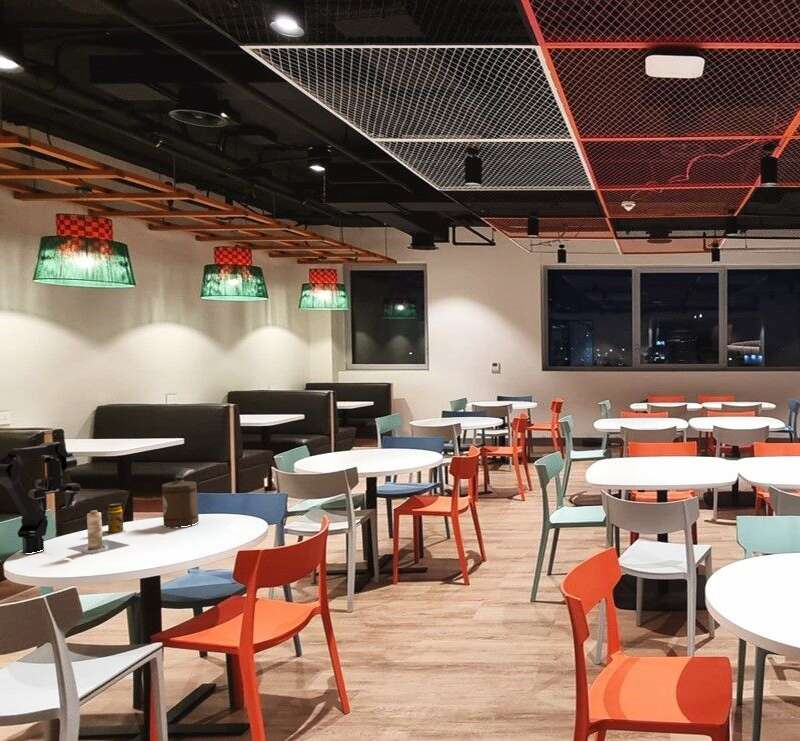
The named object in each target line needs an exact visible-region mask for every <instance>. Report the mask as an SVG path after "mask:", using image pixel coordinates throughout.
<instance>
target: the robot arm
mask: <svg viewBox="0 0 800 741" xmlns="http://www.w3.org/2000/svg"><path fill="white" fill-rule="evenodd" d="M33 457H44V459H43V460H42V461H41V464H45V474H46V475H45V476H44V480H43V479H42V478H41V479H36V480H35V482H34V483H35V484H34V485H35V488H34V489H30V490H29V491H28V493H27V492H26V491H25V489H24V487H23V486H22V483H21V481H20V480H21V479H20V478H21V470H22V469H23V468H22V467H23V464H24V463H23V462H24V459H28V458H33ZM14 460H15V462H14V463H13V461H14ZM77 466H78V461H77V458H76V457H75V456H74V455H73V453H72V452H68V451H67V449H66V448H65V447H64V445H63V443H62V442H60V441H46V442H43V443H40V444H39V445H37V446H36V445H35V446H28V447H21V448H20V447H19V448H12V449H10V450H9V451H8V452H7V453H6V455H4V456H3V457H2V458H0V485H1V486H3V487H4V488H5V489H6V490H7V492H8V493H9V495H10V497H11V500H13V502H14V504H15V506H16V508H17V509H18V511H19V513H20V514H21V521H20V523H21V526H20V528H19V529H18V531H17V536H18V538H21V540H22V544H21V545H22V550H21V551H20V554H23V553H32V552H37V551H40V550H43V551H44V550H45V542H44V538H43V537H44V536H46V535H47V530H48V525H49V524H48V523H49V521H48V516H47V515H46V512H47V498H46V497H45V495H50V494H55V493H61V492H62V493H63V494H64V496H65V497H64V498H65V506H64V507H65V510H67V511H68V510H69V509H70V506H71V504H72V501H73V499H74V498H75V495H76V494H78V493H79V492H80V491H81V485H80V484H79V483H75V482H72V483H71V482H70V483H66V484H64V485H63V478H64V477H65V476H64V475H63V472H66V471H70V470H74V469H75V468H77ZM30 498H31V499H33V500H35V501H36V502H37V503H38V505H39V507H40V509H36V508H35V506H34V505H33V503H32V501H31V500H30ZM44 552H45V551H44Z"/></svg>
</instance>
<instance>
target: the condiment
mask: <svg viewBox="0 0 800 741" xmlns="http://www.w3.org/2000/svg"><path fill="white" fill-rule="evenodd" d="M107 506H108V508H107V509H108V510H107V528H108V530H102V535H105V536H107V535H115V534H121V533H126V532H127V531H126V530H124V518H123V517H124V515H123V514H124V512H123V509H122V503H121V502H115V503H109V504H108V505H107Z"/></svg>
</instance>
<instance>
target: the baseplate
mask: <svg viewBox="0 0 800 741" xmlns="http://www.w3.org/2000/svg"><path fill="white" fill-rule="evenodd" d="M102 543H103V549H99V550H89V549H88V543H84V544H80V545H74V546H71V547H68V548H67V549H69V550H73V551H76V552H79V553H83V554H87V555H96V554H100V553H104V552H108V551H112V550H117V549H121V548H124V547H125V548H126V547H128V546H130V544H128V543H123V542H119V541H115V540H109V539H107V538H105V539H102Z"/></svg>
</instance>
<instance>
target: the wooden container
mask: <svg viewBox="0 0 800 741" xmlns="http://www.w3.org/2000/svg"><path fill="white" fill-rule="evenodd" d="M161 488H162V516H163V517H162V519H163V527H164V526H166V527H181V526H188V525H192V524H195V523H197V522H198V521H199V505H198V504H199V502H198V486H197V482H196V481H193V480H192V481H191V480H190V481H189V480H184V476H183V475H182V474H177V475H175V480H174V481H171V482H166V483H163V484H162V486H161ZM166 527H165V528H166Z"/></svg>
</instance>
